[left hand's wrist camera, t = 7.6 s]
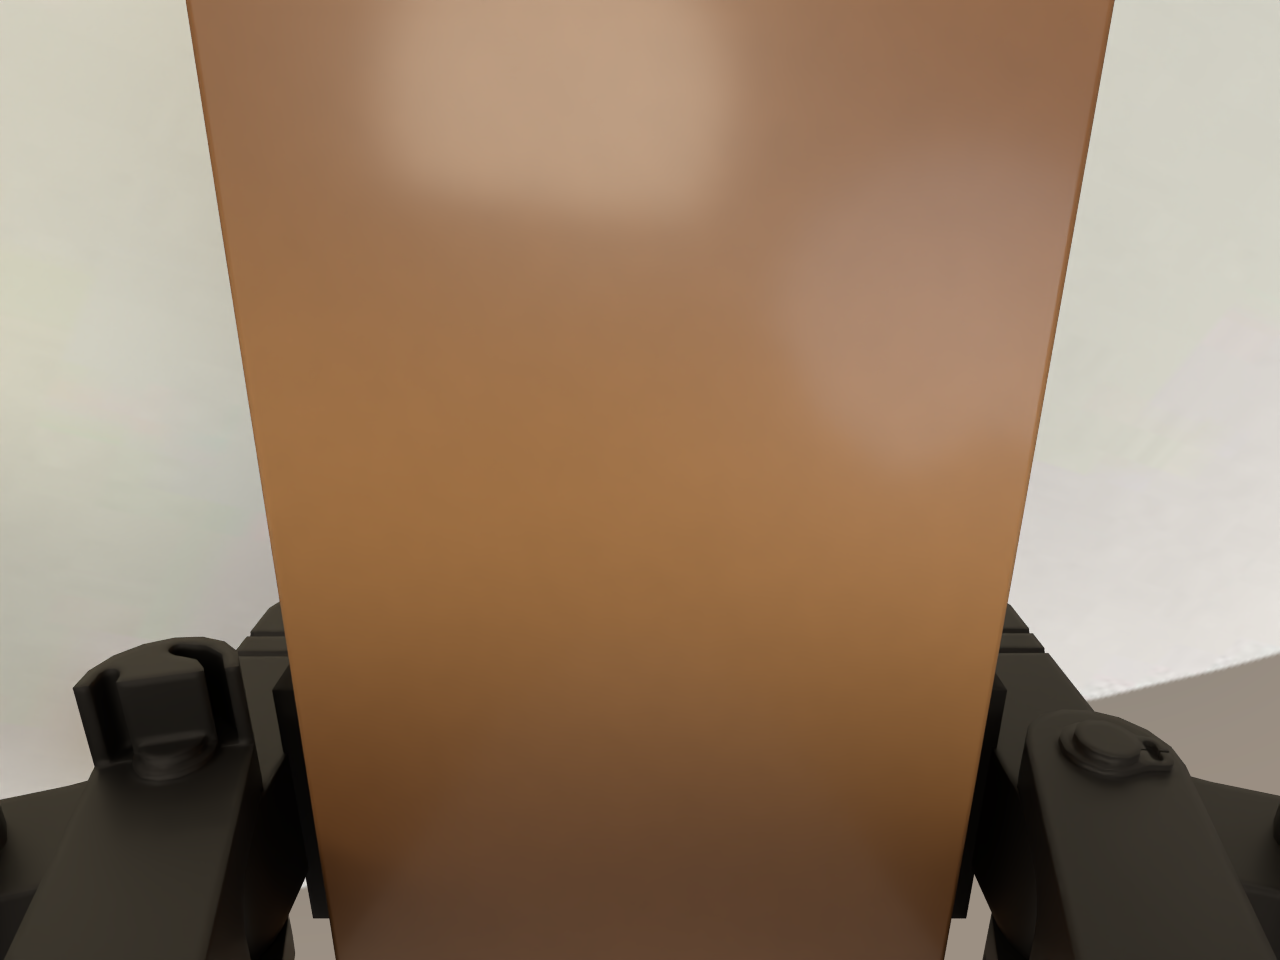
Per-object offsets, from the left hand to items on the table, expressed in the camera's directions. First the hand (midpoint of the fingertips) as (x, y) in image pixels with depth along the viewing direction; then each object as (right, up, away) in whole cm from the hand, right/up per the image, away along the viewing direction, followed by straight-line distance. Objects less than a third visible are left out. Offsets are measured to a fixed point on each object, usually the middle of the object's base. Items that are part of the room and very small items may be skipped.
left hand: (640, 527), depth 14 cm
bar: (0, +31, -11) cm, 33 cm away
